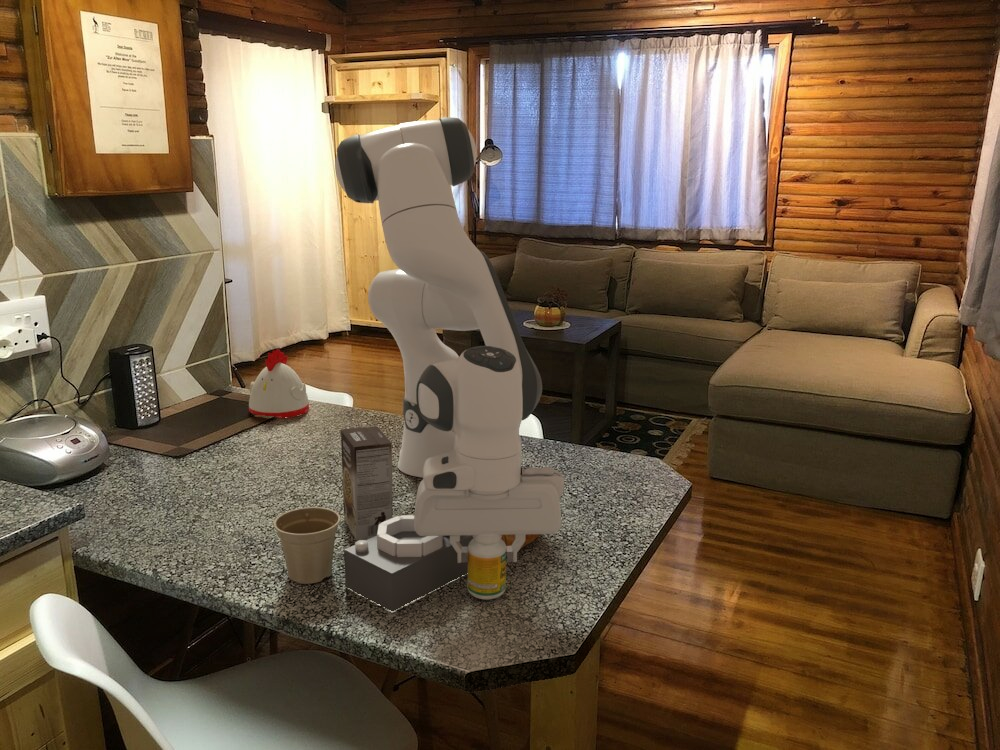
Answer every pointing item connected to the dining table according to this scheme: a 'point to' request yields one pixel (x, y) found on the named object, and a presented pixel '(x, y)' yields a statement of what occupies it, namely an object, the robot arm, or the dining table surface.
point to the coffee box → (366, 480)
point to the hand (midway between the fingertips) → (486, 560)
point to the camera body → (401, 563)
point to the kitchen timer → (278, 390)
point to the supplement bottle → (486, 566)
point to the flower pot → (308, 542)
